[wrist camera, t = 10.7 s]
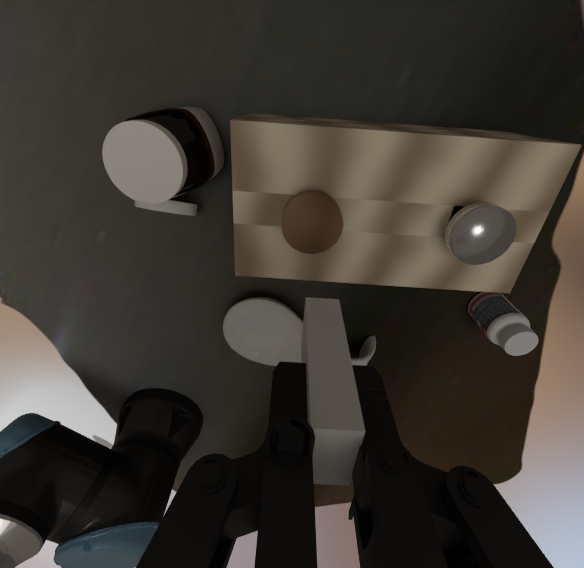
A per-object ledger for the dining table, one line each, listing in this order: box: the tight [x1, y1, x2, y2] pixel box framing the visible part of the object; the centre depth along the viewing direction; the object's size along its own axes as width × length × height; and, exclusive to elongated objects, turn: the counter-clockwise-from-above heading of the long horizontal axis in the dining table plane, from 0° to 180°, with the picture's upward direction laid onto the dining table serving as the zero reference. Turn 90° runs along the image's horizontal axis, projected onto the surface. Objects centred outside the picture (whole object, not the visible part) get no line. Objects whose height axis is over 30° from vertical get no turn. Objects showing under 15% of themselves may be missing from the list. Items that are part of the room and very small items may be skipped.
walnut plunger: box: [281, 190, 343, 254], centre depth 31 cm, size 5×5×14 cm
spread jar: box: [102, 107, 224, 216], centre depth 33 cm, size 12×11×12 cm
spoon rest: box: [223, 297, 376, 366], centre depth 48 cm, size 24×12×7 cm, turn 74°
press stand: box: [230, 113, 581, 293], centre depth 34 cm, size 28×14×12 cm, turn 86°
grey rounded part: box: [445, 202, 517, 265], centre depth 32 cm, size 5×5×14 cm
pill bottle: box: [468, 292, 538, 356], centre depth 44 cm, size 5×5×9 cm
